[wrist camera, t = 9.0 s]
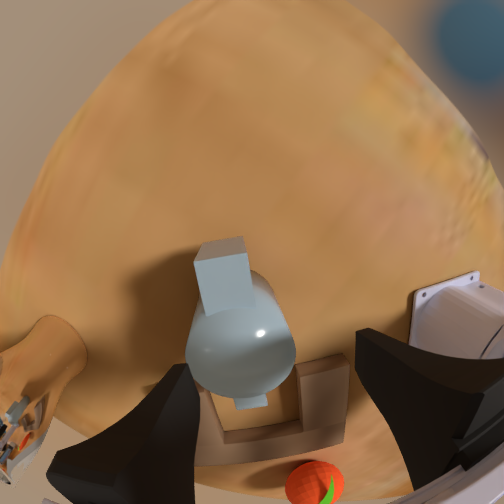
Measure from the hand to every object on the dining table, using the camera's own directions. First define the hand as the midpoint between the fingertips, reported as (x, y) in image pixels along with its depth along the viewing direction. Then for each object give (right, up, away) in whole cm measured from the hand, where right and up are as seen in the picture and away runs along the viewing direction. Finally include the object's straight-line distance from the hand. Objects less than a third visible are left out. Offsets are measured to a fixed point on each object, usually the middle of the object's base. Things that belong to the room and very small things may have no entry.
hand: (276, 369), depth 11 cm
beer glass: (-19, -4, +9) cm, 21 cm away
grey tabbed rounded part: (-2, +1, +9) cm, 10 cm away
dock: (0, -11, +12) cm, 16 cm away
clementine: (+6, -21, +15) cm, 26 cm away
